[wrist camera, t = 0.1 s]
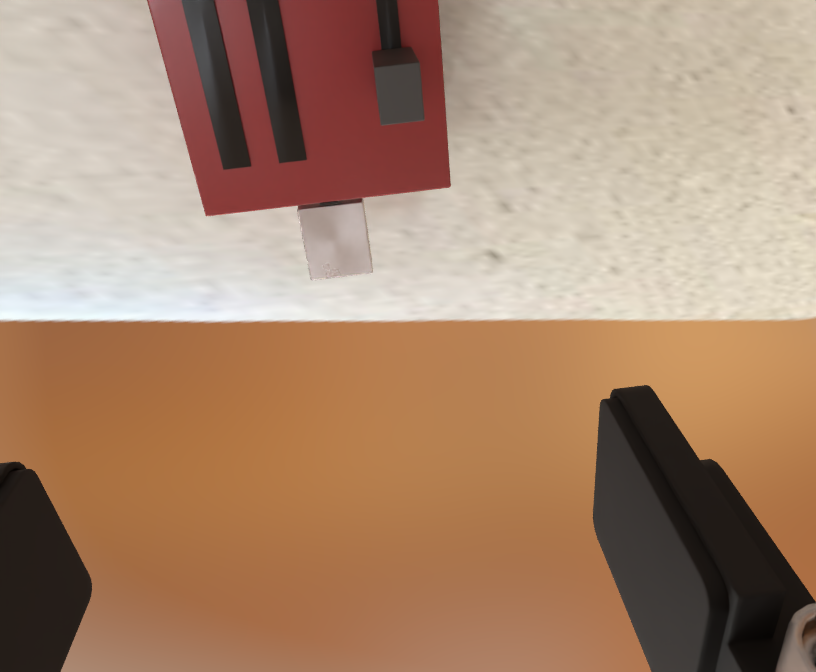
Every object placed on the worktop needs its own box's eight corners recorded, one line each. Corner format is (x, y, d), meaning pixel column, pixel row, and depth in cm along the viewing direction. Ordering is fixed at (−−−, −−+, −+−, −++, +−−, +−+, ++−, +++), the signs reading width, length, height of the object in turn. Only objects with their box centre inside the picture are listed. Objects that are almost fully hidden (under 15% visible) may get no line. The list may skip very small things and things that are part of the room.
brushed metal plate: (298, 200, 31) (296, 209, 30) (362, 193, 31) (362, 202, 30) (312, 270, 33) (310, 280, 32) (372, 263, 33) (372, 273, 32)
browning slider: (371, 51, 26) (373, 67, 23) (411, 46, 26) (419, 61, 23) (377, 103, 27) (380, 125, 24) (416, 98, 27) (424, 120, 24)
